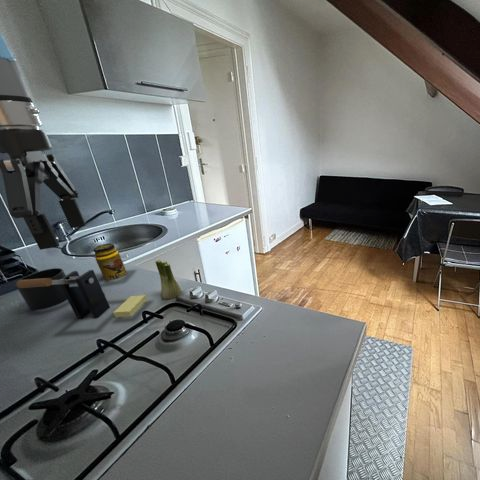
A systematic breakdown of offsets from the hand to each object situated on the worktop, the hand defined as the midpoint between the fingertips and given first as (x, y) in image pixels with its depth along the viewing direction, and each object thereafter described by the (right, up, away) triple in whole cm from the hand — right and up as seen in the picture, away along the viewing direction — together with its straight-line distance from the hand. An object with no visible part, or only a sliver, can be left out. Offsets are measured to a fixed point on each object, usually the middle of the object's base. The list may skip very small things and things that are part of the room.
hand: (65, 236), depth 56 cm
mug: (-22, -19, +20) cm, 35 cm away
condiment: (-13, -14, +30) cm, 36 cm away
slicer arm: (-4, -12, +3) cm, 12 cm away
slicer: (-3, -21, +12) cm, 24 cm away
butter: (+6, -20, +13) cm, 24 cm away
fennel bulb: (+13, -18, +18) cm, 28 cm away
